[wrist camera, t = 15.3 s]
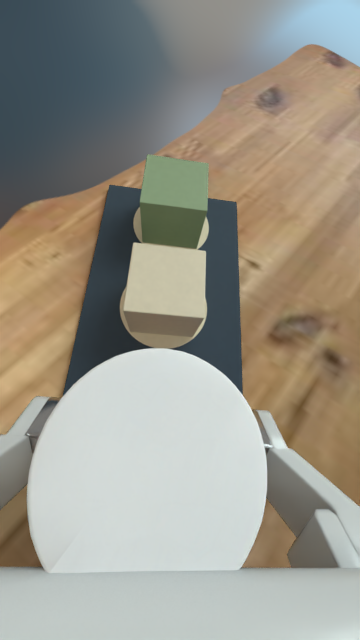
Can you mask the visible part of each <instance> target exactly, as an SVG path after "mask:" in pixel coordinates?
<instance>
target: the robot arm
mask: <svg viewBox="0 0 360 640" xmlns="http://www.w3.org/2000/svg"><path fill="white" fill-rule="evenodd" d="M60 399H61V398H57V397H43V396H36V397H35V398H33V399H32V400H31V402H30V403H29V404H28V406H27V407H26V408H25V410H24V411H23V412H22V414H21V415H20V416H19V418H18V419H17V420H16V422H15V423H14V424H13V426H12V427H11V429H10V430H9V431H8V433H7V434H6V435H0V510H1V509H2V508H3V507H4V506H5V505H6V504H7V503H8V502H9V501H10V500H11V499H12V498H13V497H15V496H16V495H17V494H18V493H19V492H20V491H21V490H22V489H23V488H24V487H25V486H26V485H27V484H28V475H29V469H30V465H31V460H32V456H33V453H34V450H35V447H36V443H37V441H38V438H39V436H40V434H41V432H42V429H43V427H44V425H45V423H46V421H47V419H48V417H49V416H50V414H51V413H52V411H53V409H54V408H55V406H56V405H57V403H58V402H59V401H60ZM252 412H253V414H254V416H255V418H256V420H257V423H258V426H259V429H260V432H261V435H262V439H263V443H264V448H265V453H266V460H267V494H266V498H267V499H268V500H269V502H270V503H271V504H272V506H273V507H274V508H275V510H276V511H277V512H278V514H279V515H280V516H281V518H282V519H283V520H284V522H285V523H286V524H287V525H288V527H289V528H290V529H291V531H292V532H293V533H294V535H295V536H296V537H297V538H296V540H295V541H294V543H293V544H292V546H291V547H290V549H289V551H288V553H287V556H288V559H289V562H290V565H291V568H240V569H239V570H214V571H135V572H90V573H47V572H45V570H44V568H43V567H0V640H360V507H359V506H358V505H357V504H356V503H355V502H353V501H352V500H351V499H350V498H349V497H348V496H346V495H345V494H344V493H343V492H342V491H341V490H339V489H338V488H337V487H336V486H335V485H334V484H332V483H331V482H330V481H329V480H328V479H327V478H325V477H324V476H323V475H322V474H321V473H320V472H318V471H317V470H316V469H315V468H314V467H313V466H311V465H310V464H309V463H308V462H307V461H306V460H304V459H303V458H302V457H301V456H300V455H299V454H297V453H296V452H295V451H294V450H293V449H288V447H287V445H286V443H285V441H284V439H283V437H282V435H281V433H280V431H279V429H278V427H277V425H276V423H275V422H274V420H273V418H272V416H271V414H270V412H269V411H264V410H252Z"/></svg>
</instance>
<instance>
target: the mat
mask: <svg viewBox="0 0 360 640" xmlns="http://www.w3.org/2000/svg"><path fill="white" fill-rule="evenodd" d="M141 190H142V189H137V188H129V187H122V186H115V185H109V190H108V194H107V199H106V203H105V208H104V212H103V217H102V221H101V226H100V230H99V235H98V239H97V244H96V248H95V253H94V257H93V262H92V266H91V271H90V275H89V280H88V284H87V289H86V293H85V298H84V302H83V307H82V311H81V316H80V320H79V325H78V329H77V334H76V338H75V343H74V347H73V352H72V356H71V361H70V365H69V370H68V374H67V379H66V383H65V388H64V393H63V396H64V395H65V393H66V392H67V391H68V390H69V389H70V388H71V387H72V386H73V384H75V383H76V382H77V381H78V380H79V379H80V378H81V377H83V376H84V375H85V374H86V373H88V372H89V371H90V370H91V369H93V368H95V367H96V366H98V365H99V364H101V363H103V362H105V361H107V360H109V359H111V358H113V357H115V356H117V355H121V354H124V353H127V352H131V351H135V350H141V349H149V348H164V349H172V350H177V351H182V352H185V353H188V354H191V355H194V356H196V357H198V358H200V359H202V360H204V361H206V362H208V363H209V364H211V365H212V366H214V367H215V368H216V369H218V370H219V371H220V372H222V373H223V374H224V375H225V376H226V377H227V378H228V379H229V380H230V381H231V382H232V383H233V384H234V385H235V386H236V387H237V389H238V390H239V391H240V392H241V394H242V395H243V391H242V359H241V328H240V297H239V266H238V235H237V203H236V202H232V201H224V200H217V199H210V198H208V205H207V214H206V218H205V221H204V225H203V228H202V232H201V235H200V239H199V243H198V246H197V249H195V248H187V247H178V246H170V245H161V244H153V243H145V242H142V228H141V214H140V196H141ZM133 243H142V244H150V245H159V246H167V247H176V248H184V249H193V250H201V251H206V277H205V317H204V320H203V321H202V323H201V324H200V326H199V328H198V329H197V331H196V333H195V334H194V336H193V337H184V336H172V335H161V334H149V333H138V332H130V330H129V327H128V324H127V321H126V318H125V315H124V313H123V305H124V298H125V292H126V286H127V279H128V273H129V266H130V260H131V254H132V247H133Z"/></svg>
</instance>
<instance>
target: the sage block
mask: <svg viewBox="0 0 360 640" xmlns="http://www.w3.org/2000/svg"><path fill="white" fill-rule="evenodd" d="M207 205H208V163H201V162H194V161H188V160H181V159H174V158H168V157H161V156H154V155H147V158H146V164H145V171H144V177H143V184H142V190H141V196H140V214H141V228H142V242H145V243H153V244H161V245H170V246H178V247H187V248H195V249H197V246H198V243H199V239H200V235H201V232H202V228H203V225H204V221H205V218H206V214H207Z"/></svg>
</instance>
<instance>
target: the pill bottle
mask: <svg viewBox="0 0 360 640" xmlns="http://www.w3.org/2000/svg"><path fill="white" fill-rule="evenodd" d="M266 494H267V460H266V453H265V448H264V443H263V439H262V435H261V432H260V429H259V426H258V423H257V420H256V418H255V416H254V414H253V412H252V410H251V408H250V406H249V405H248V403H247V401H246V400H245V398H244V397H243V395H242V394H241V392H240V391H239V390H238V389H237V387H236V386H235V385H234V384H233V383H232V382H231V381H230V380H229V379H228V378H227V377H226V376H225V375H224V374H223V373H222V372H220V371H219V370H218V369H216V368H215V367H214V366H212V365H211V364H209V363H208V362H206V361H204V360H202V359H200V358H198V357H196V356H194V355H191V354H188V353H185V352H182V351H177V350H172V349H164V348H149V349H141V350H135V351H131V352H127V353H124V354H121V355H117V356H115V357H113V358H111V359H109V360H107V361H105V362H103V363H101V364H99V365H98V366H96V367H95V368H93V369H91V370H90V371H89V372H88V373H86V374H85V375H84V376H83V377H81V378H80V379H79V380H78V381H77V382H76V383H75V384H73V386H72V387H71V388H70V389H69V390H68V391H67V392H66V393H65V395H64V396H63V397H62V398H61V399H60V401H59V402H58V403H57V405H56V406H55V408H54V409H53V411H52V413H51V414H50V416H49V417H48V419H47V421H46V423H45V425H44V427H43V429H42V432H41V434H40V436H39V438H38V441H37V443H36V447H35V450H34V453H33V456H32V460H31V465H30V469H29V475H28V484H27V513H28V522H29V528H30V535H31V538H32V540H33V545H34V548H35V550H36V553H37V555H38V558H39V560H40V562H41V564H42V566H43V568H44V570H45V572H47V573H90V572H135V571H214V570H239V569H240V568H241V567H242V565H243V563H244V562H245V560H246V559H247V556H248V554H249V552H250V550H251V548H252V546H253V544H254V541H255V539H256V536H257V533H258V531H259V528H260V525H261V522H262V518H263V514H264V507H265V502H266Z"/></svg>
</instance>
